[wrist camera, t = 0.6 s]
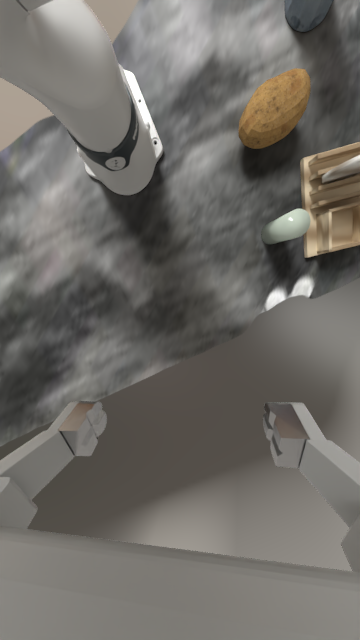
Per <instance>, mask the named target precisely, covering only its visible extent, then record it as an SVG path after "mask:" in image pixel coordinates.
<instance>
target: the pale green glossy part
mask: <svg viewBox="0 0 360 640" xmlns="http://www.w3.org/2000/svg"><path fill="white" fill-rule="evenodd" d="M310 222H311V219H310V215H309V213H308V212H307V211H306V210H304V209H295V210H293V211H291V212H289V213H287V214H285V215H283V216H282V217H280V218H278V219H276V220H274V221H272V222H270V223H268V224H267V225H265V226H264V228H263V229H262V232H261V238H262V240H263V242H264V243H266V244H275V243H278V242H282V241H286V240H290V239H293V238H297V237H300V236H302V235H303V234H305V233H306V232H307V230H308V229H309V226H310Z"/></svg>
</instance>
